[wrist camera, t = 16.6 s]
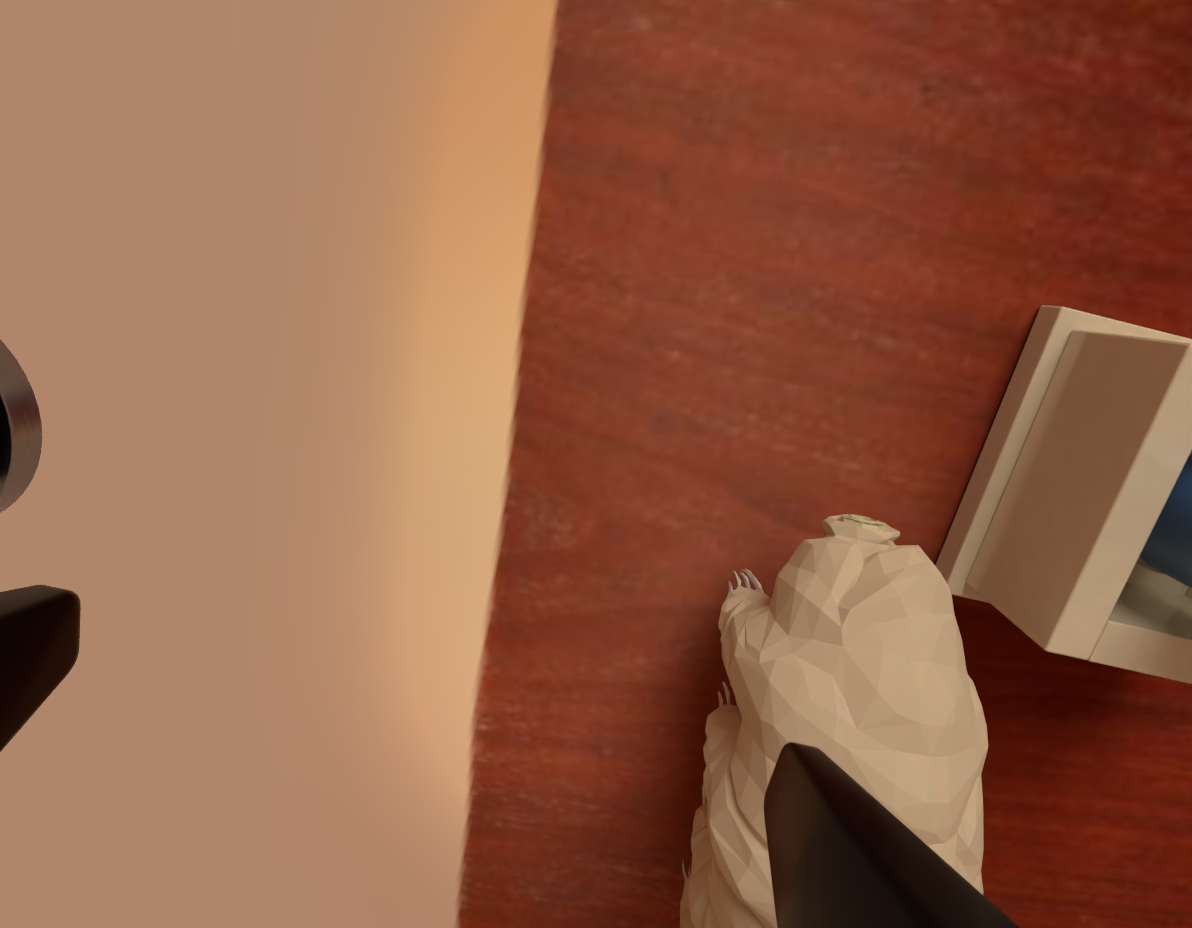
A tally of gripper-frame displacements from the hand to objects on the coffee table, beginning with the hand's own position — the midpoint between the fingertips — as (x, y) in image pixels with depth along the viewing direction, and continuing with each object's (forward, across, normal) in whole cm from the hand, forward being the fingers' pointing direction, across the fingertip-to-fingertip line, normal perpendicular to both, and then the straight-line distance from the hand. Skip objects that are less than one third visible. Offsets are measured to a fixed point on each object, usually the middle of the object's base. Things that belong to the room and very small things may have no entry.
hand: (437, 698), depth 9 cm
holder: (+13, -18, -3) cm, 22 cm away
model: (+13, -10, +8) cm, 18 cm away
